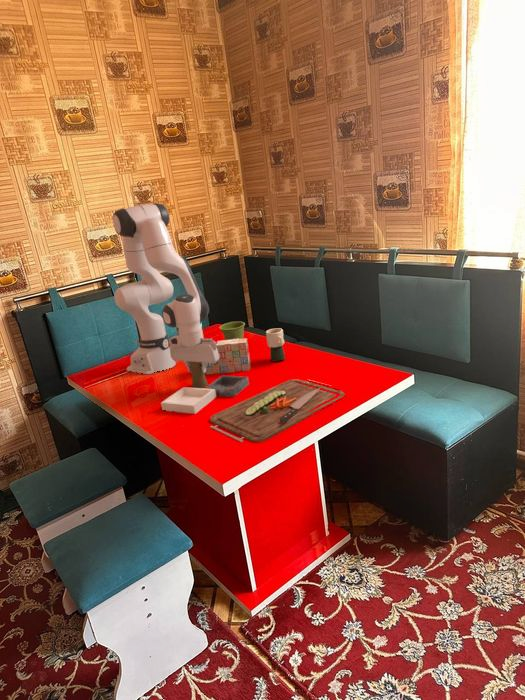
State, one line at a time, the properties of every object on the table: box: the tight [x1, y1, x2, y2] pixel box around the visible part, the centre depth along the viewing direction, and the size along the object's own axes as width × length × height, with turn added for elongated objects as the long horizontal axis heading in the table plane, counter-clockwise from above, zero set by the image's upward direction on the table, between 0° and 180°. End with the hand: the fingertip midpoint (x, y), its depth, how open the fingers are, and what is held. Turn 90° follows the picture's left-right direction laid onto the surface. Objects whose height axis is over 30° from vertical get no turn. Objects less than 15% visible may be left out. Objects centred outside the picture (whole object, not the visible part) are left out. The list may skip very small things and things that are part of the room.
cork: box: [189, 362, 209, 389], centre depth 196 cm, size 6×6×11 cm
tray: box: [160, 386, 217, 415], centre depth 182 cm, size 14×14×3 cm
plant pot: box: [219, 321, 246, 340], centre depth 236 cm, size 12×12×11 cm
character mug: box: [265, 327, 286, 362], centre depth 212 cm, size 11×7×13 cm, turn 27°
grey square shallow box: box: [205, 375, 250, 398], centre depth 190 cm, size 12×12×3 cm
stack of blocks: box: [202, 337, 251, 376], centre depth 209 cm, size 21×6×12 cm, turn 87°
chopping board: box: [209, 378, 345, 443], centre depth 169 cm, size 45×27×3 cm, turn 131°
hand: (197, 371), depth 196 cm, fingers open, 4 cm apart
